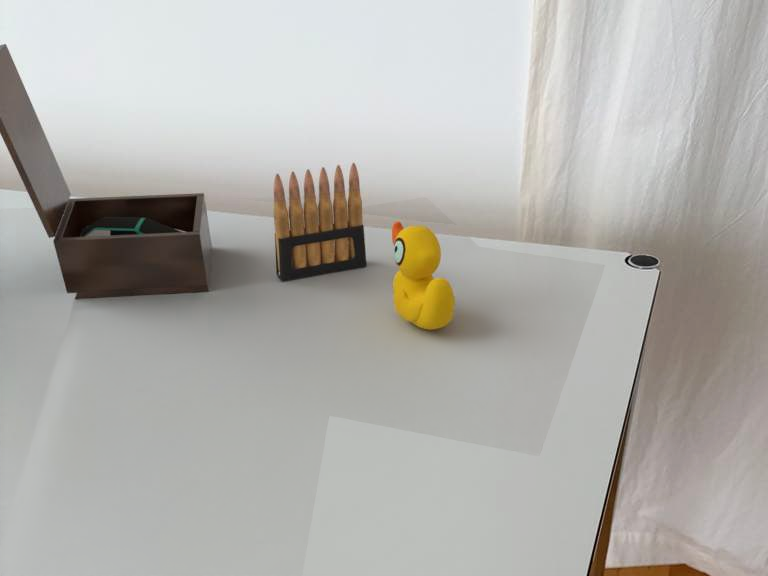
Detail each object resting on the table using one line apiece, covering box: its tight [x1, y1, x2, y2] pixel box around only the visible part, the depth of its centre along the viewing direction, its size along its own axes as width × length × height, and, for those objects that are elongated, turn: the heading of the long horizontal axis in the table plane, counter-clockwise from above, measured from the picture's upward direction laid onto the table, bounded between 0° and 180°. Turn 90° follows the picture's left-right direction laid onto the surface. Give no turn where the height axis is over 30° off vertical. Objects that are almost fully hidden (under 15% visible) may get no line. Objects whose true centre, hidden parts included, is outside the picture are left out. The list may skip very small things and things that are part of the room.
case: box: [53, 192, 213, 299], centre depth 104 cm, size 16×12×7 cm
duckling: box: [391, 221, 456, 330], centre depth 95 cm, size 11×5×10 cm, turn 27°
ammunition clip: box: [273, 162, 368, 282], centre depth 103 cm, size 11×2×12 cm, turn 112°
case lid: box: [0, 43, 72, 239], centre depth 95 cm, size 16×12×1 cm
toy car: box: [81, 217, 185, 237], centre depth 104 cm, size 6×12×5 cm, turn 88°
